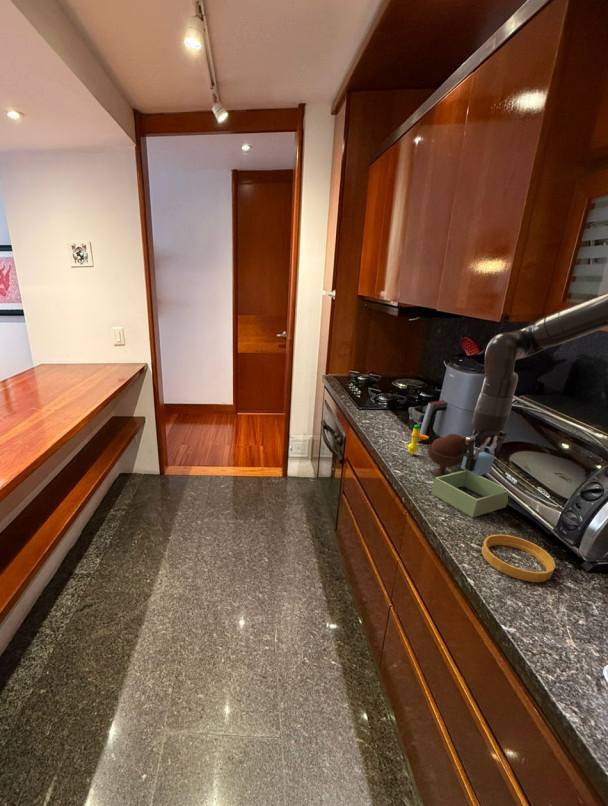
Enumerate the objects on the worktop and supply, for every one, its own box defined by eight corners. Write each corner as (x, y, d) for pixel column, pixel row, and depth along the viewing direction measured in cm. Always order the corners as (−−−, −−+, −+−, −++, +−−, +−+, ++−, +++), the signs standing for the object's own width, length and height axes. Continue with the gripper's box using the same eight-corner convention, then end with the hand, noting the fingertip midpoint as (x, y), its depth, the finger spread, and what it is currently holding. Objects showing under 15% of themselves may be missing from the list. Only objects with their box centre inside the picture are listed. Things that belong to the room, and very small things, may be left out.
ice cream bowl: (446, 467, 130) (456, 426, 125) (467, 484, 120) (479, 440, 114) (415, 468, 130) (424, 427, 124) (434, 485, 120) (445, 441, 114)
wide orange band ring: (505, 539, 95) (508, 529, 94) (564, 574, 84) (569, 563, 83) (467, 552, 91) (471, 542, 90) (525, 591, 80) (529, 580, 79)
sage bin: (462, 486, 119) (467, 469, 117) (505, 509, 107) (511, 490, 105) (430, 495, 114) (434, 477, 112) (471, 519, 103) (477, 500, 101)
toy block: (473, 464, 110) (477, 448, 108) (490, 472, 106) (495, 456, 104) (460, 467, 108) (465, 451, 106) (477, 476, 104) (482, 459, 102)
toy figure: (424, 457, 138) (431, 426, 133) (423, 461, 135) (429, 429, 130) (404, 453, 141) (410, 422, 137) (402, 456, 138) (408, 425, 134)
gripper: (486, 418, 95) (470, 479, 101) (525, 411, 99) (507, 469, 106) (459, 409, 101) (445, 467, 108) (496, 402, 106) (481, 458, 112)
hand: (476, 468), depth 107 cm, fingers closed on toy block, 5 cm apart
